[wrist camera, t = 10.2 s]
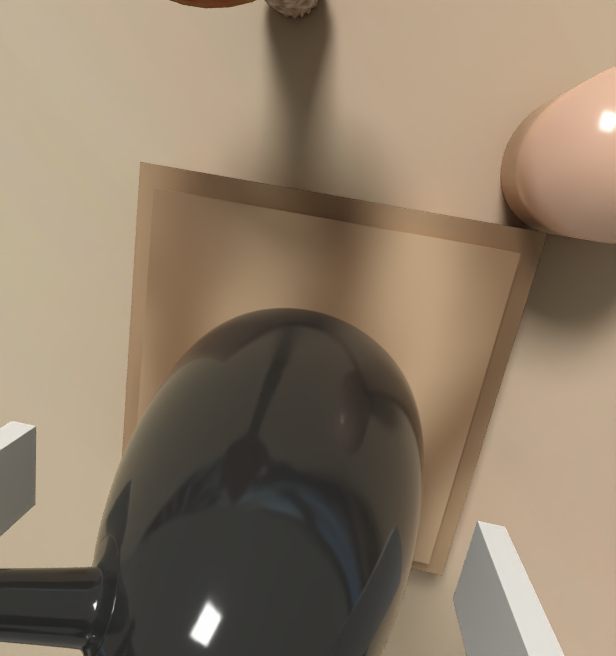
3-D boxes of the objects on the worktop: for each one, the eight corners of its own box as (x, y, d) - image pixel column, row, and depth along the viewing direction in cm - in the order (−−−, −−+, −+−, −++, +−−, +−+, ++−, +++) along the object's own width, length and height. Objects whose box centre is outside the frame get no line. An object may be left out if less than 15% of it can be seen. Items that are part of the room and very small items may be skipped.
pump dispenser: (236, 247, 20) (-94, 394, 6) (451, 345, 20) (676, 737, 6) (166, 432, 23) (-163, 835, 9) (352, 516, 23) (335, 1049, 9)
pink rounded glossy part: (487, 226, 22) (522, 232, 17) (517, 87, 20) (565, 51, 15) (619, 242, 21) (693, 253, 16) (661, 101, 20) (758, 67, 15)
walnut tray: (139, 475, 28) (113, 506, 25) (163, 166, 23) (133, 160, 20) (435, 543, 26) (443, 584, 24) (528, 230, 21) (553, 233, 19)
